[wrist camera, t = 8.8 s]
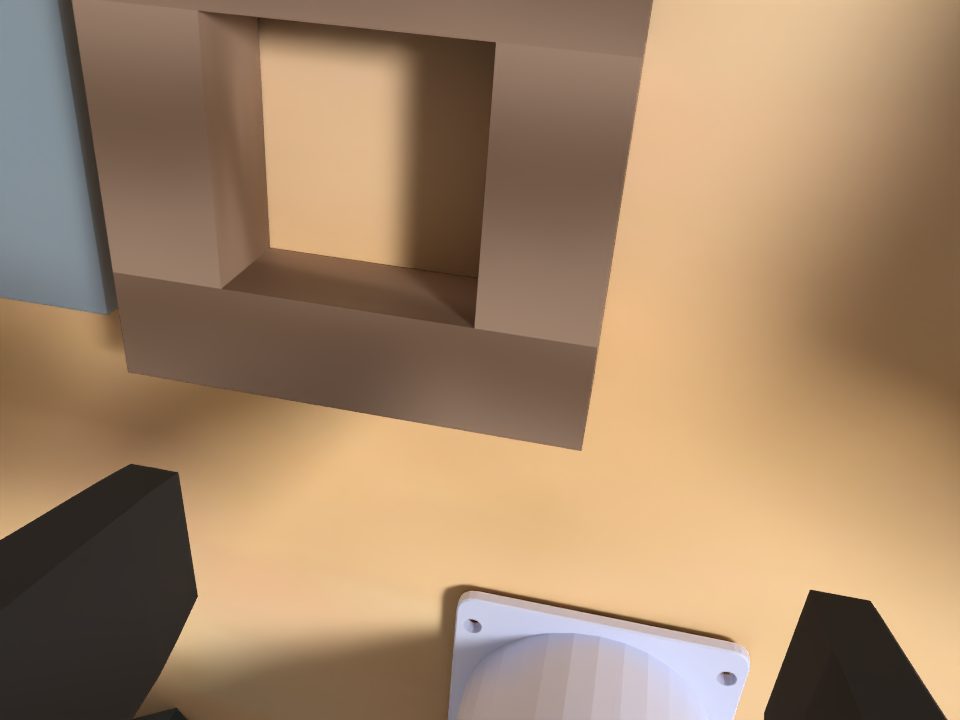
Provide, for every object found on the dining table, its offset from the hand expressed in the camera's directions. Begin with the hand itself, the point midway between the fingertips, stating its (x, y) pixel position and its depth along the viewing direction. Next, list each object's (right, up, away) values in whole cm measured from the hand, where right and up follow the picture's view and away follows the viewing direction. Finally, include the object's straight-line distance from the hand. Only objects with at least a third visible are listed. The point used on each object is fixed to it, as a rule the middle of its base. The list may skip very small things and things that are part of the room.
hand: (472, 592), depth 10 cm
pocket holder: (-2, +7, +9) cm, 11 cm away
